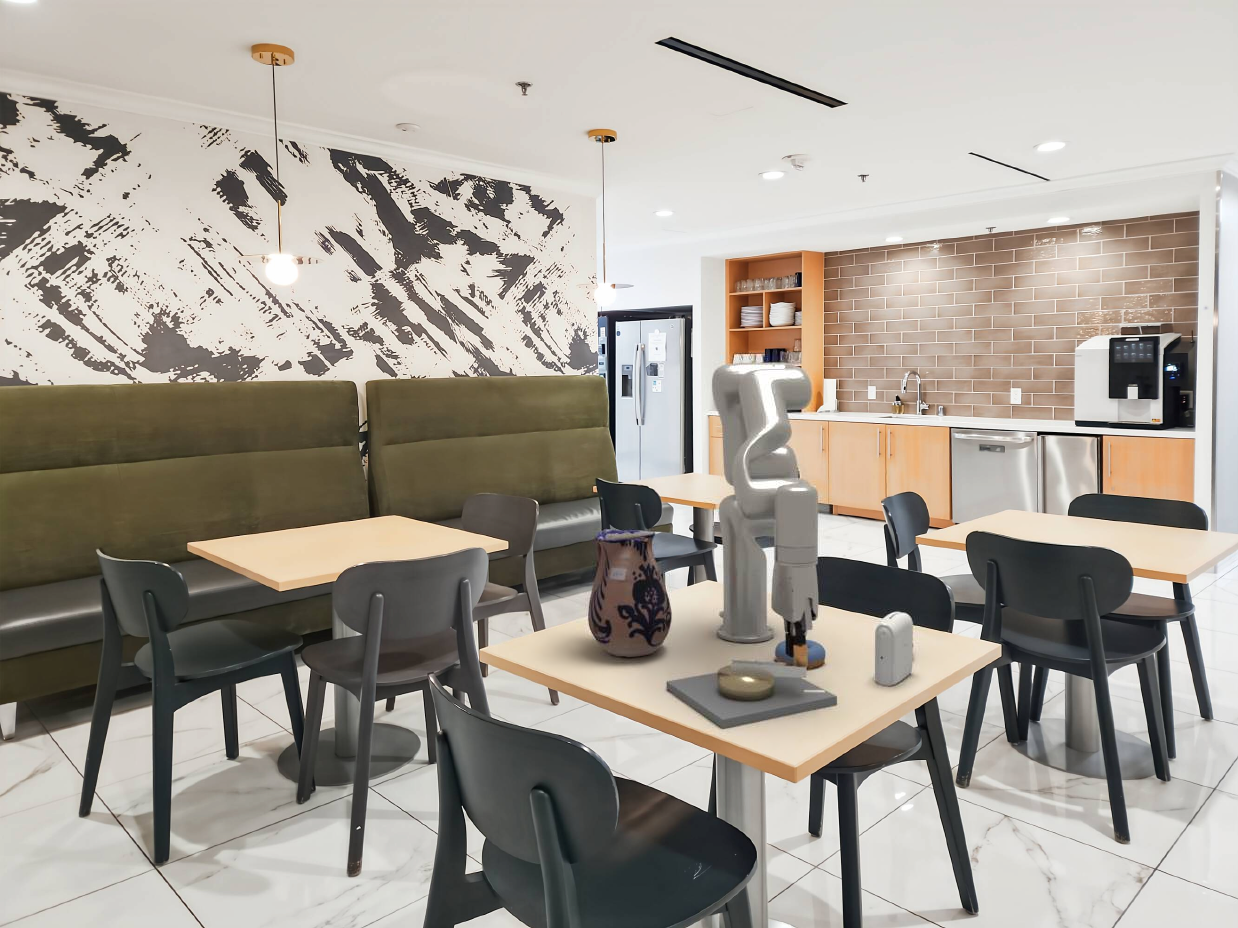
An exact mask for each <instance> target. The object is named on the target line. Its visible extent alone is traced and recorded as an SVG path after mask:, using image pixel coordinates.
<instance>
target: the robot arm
mask: <svg viewBox="0 0 1238 928" xmlns="http://www.w3.org/2000/svg"><path fill="white" fill-rule="evenodd" d="M811 383H812V382H811V379H810V377H809V375H808V374H807V372H806V371H805V370H804V369H803V368H802V367H799V366H797V365H794V364H792V363H789V362H734V363H727V364H723V365H721V366H718V367H717V368H716V369H715V370H714V371H713V374H712V380H711V391H712V397H713V401H714V404H715V407H716V410H717V413H718V417H719V418H720V422H721V431H722V457H723V458H722V459H723V472H724V473H723V474H724V478H725V480H726V482H727V483H728V484H729V485H730V486H731V487H733V491H734V493H733V494H730V495H728V496H726V497H725V498H723V499H722V500H721V502H720V503H719V504H718V505H719V506H718V521H719V527H720V532H721V541H722V560H723V561H722V565H723V567H722V568H723V571H722V572H723V611H722V610H721V611H720V612H719V613H718V616H719V617H720V618H721V619H722V624H721V625H719V626H718V627H717V628H716V635H717V636H718V637H719V638H720V639H723V640H725V641H728V642H729V641H730V642H735V643H748V644H749V643H750V644H751V643H759V642H760V643H761V642H765V641H770V640H771V639H772V638H773V637H774V636H775V629H774V628H773V627H771V626H769V625H768V602H767V601H768V589H767V588H768V586H767V585H768V583H767V582H768V577H767V576H768V570H767V569H768V567H767V566H768V565H767V563H768V561H767V556H766V552H765V551H764V550H763V548H762V546H760V545H759V544H758V543H757V541H756V538H762V537H774V538H773V540H774V543H773V545H774V547H773V550H774V551H773V552H774V553H773V554H774V555H773V557H774V558H773V559H774V560H773V561H774V563H773V567H772V568H773V569H772V578H771V579H772V580H771V581H772V582H771V599H770V600H771V604H770V607H771V609H772V611H773V612H774V613H776V614H777V615H779V616H780V617H782V619H783V627H784V628H783V629H784V631H785V637H784V638H785V639H784V641H785V653H786V654H787V655H788V656H789V657H794V644H797V643H803V644H806V640H807V635H808V631H812V630H813V622H815V621H816V620H818V617H819V587H818V586H819V585H818V583H819V582H818V574H817V565H818V564H819V563H818V562H819V561H818V560H819V559H818V557H819V555H818V554H819V547H818V546H819V545H818V543H819V541H818V540H819V536H818V535H819V529H818V528H819V493H818V490H817V488H816V487H815V486H813V485H811V484H810V482H809V481H808V480H806V479H805V478H800V477H799V471H798V469H799V468H798V461H797V457H796V454H795V452H794V450H793V448H792V447H791V446H790V445H788V444H787V443H788V442H789V441H790V440H791V438H792V434H793V433H792V432H793V431H792V426H791V421H790V419H789V414H788V410H789V411H792V410H793V411H795V410H797V411H798V410H804V409H806V408H807V407H808V406H809V405H810V404H811V401H812V396H813V388H812V384H811Z"/></svg>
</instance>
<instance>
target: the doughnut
mask: <svg viewBox="0 0 1238 928" xmlns="http://www.w3.org/2000/svg"><path fill="white" fill-rule="evenodd" d="M806 645H808V666H806V667H807V669H814V668H818V667H820V666H822V665H823V663H824V662H825V660H826V650H825V648H824V646H823V645H822V644H821V643H819V642H816V641H815V640H811V639H806ZM774 657H775V659H776V660H777V662H784V663H794V657H789V656H788V655H787V654H786V653H785V640H783V641H780V642H779V643H777V645H776V647H775V651H774ZM807 669H806V670H807Z"/></svg>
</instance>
